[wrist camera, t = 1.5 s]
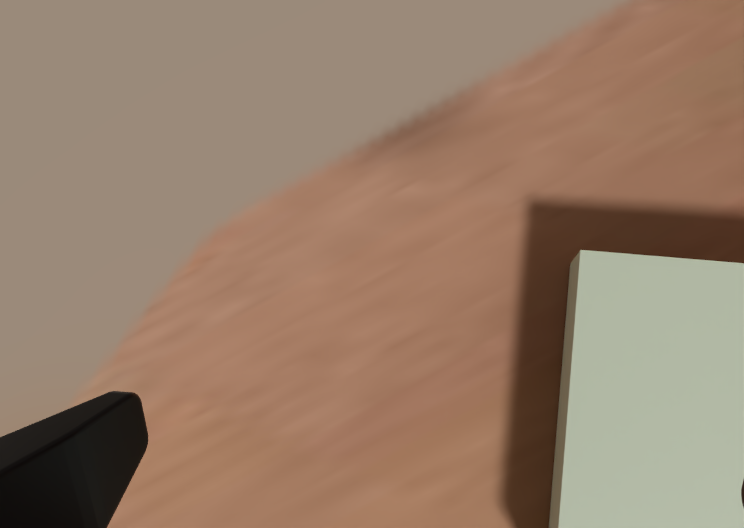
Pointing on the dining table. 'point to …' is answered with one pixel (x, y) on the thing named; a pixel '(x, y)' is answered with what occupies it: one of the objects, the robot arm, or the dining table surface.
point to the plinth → (651, 394)
